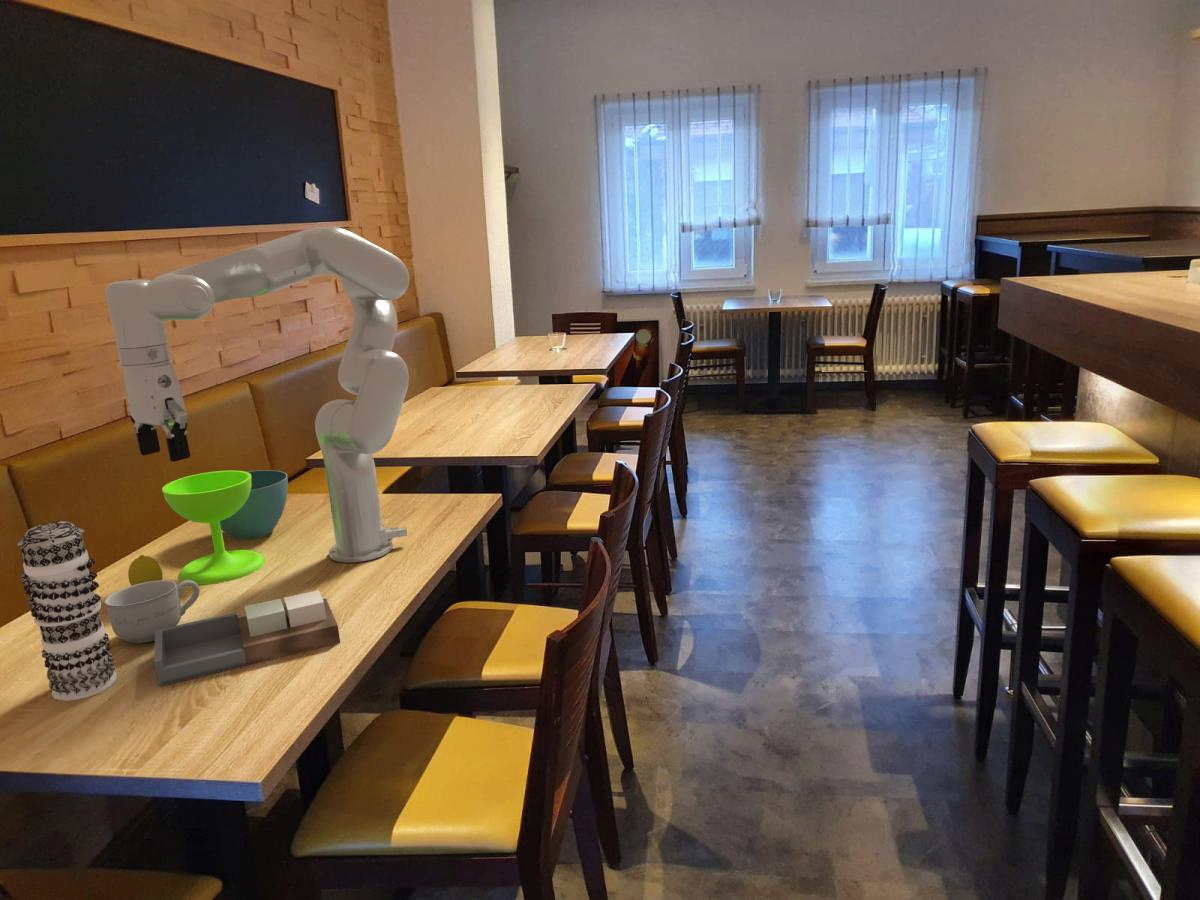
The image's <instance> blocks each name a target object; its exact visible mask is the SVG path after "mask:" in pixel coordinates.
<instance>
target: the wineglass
mask: <svg viewBox="0 0 1200 900" xmlns="http://www.w3.org/2000/svg"><path fill="white" fill-rule="evenodd" d="M251 487H252V484H251V474H250V473H248V471H244V470H218V471H217V470H216V471H208V472H201V473H196V474H192V475H188V476H184V477H181V478H177V479H176V480H173V481H170V482H168V483H166V484H165V485H164V486H163V487H162V488H161V489H162V490H161V491H162V494H163V497H164V499H165V501H166V503H167V504H168V505H169V507H170V508H171V509H172V510H173V511H174V512H175V513H176V514H178V515H179V516H180V517H181V518H183V519H186V520H189V521H191V522H193V523H199V524H201V523H202V524H209V528H210V529H209V530H210V533H211V539H212V545H213V550H214V552H213V553H211V554H207V555H204V556H202V557H199V558H197V559H194V560H192V561H190V562H189V563H187V564H186V565H185V566H183V568H181V570H180V571H179V573H178V574H179V576H178V579H179V581H181V582H182V581H185V580H191V581H194V582H195V583H197V585H213V584H212V583H214V584H220V583H219V582H221V583H225V582H224V581H226V582H230V580H231V581H234V580H237V579H240V578H243V577H244V578H245V577H246V576H249V575H251V574H254V573H255V572H257V571H259V570H260V569H261V568H262V567H264V565H265V564H264V563H266V559H265V557H264V555H262V554H260V553H259V552H257V551H254V550H248V549H234V550H232V549H231V550H226V549H225V547H226V546H225V543H224V538H223V531H222V530H221V525H220V521H222V520H224V519H226V518H229V517H231V516H232V515H234V514H235V513H236V512H237V511H238V510H240V509H241V508H242V507H243V505H244V504H245V502H246V500H247V499H248V497H249V494H250V491H251ZM254 571H255V572H254Z"/></svg>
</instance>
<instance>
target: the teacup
mask: <svg viewBox="0 0 1200 900" xmlns="http://www.w3.org/2000/svg"><path fill="white" fill-rule="evenodd" d="M186 587H190V588H192V594H191V596H190V597H189V598H188V600H187V601H186V602H184V603H183V604H181V601H180V598H181V595H182V592H183V590H184V588H186ZM200 593H201V589H200V587H199V584H197V583H195V582H194V581H191V580H185V581H181V582H179V583H178V584H177V582H175V581H173V580H168V579H167V580H166V579H164V580H163V579H162V580H161V581H151V582H145V583H141V584H136V585H133V586H131V585H130V586H127V587H124V588H123V589H119V590H117V591H115V592H113V593H111V594H110V595H108V596H107V597H106V599H104V605H105V606H106V609H107V614H108V619H109V623H110V625H111V628H112V631H113V633H114V635H116V637H118V638H119V639H121V640H123V641H127V642H128V643H131V644H145V643H149V642H153V641H154V642H155V630H158V629H163V628H168V627H172V626H177V625H179V623H180V621H181V618H182V617H183V616H184V615H185V613H186V612H187V610H188V609H189V608H190V607H191V606H193V604H194V603H196V601H197V600H198V598H199V597H200Z"/></svg>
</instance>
